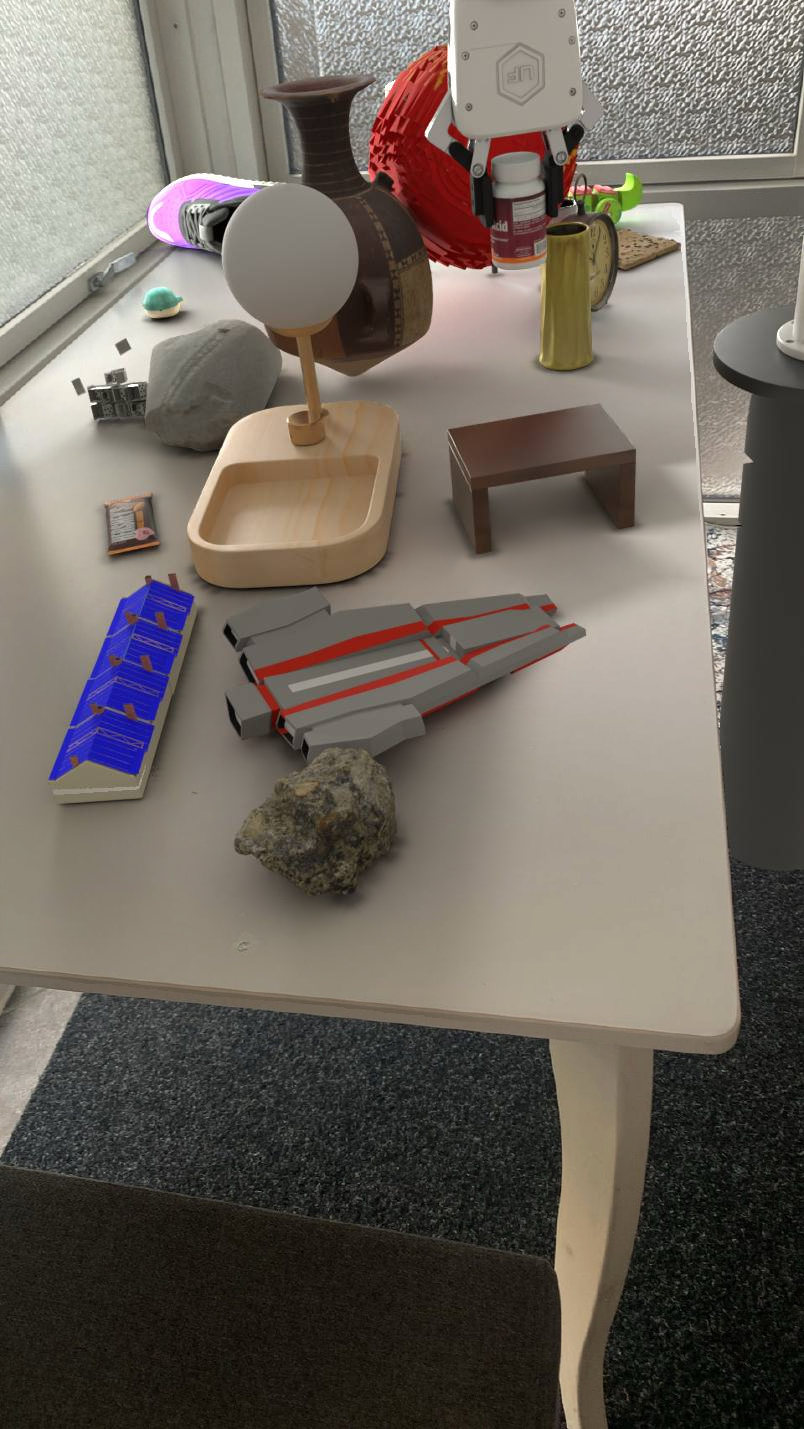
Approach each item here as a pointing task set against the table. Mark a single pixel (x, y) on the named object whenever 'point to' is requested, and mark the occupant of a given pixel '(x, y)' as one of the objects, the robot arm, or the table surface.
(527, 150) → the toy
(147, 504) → the chocolate bar
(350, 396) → the table surface
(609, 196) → the toy crocodile
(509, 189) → the pill bottle
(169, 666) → the building
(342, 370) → the vase
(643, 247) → the cookie
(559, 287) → the vase
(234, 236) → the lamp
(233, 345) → the stone
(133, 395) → the house of cards
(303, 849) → the rock
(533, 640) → the toy spaceship
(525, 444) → the shelf
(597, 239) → the alarm clock
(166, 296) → the whale figurine
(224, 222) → the running shoe
